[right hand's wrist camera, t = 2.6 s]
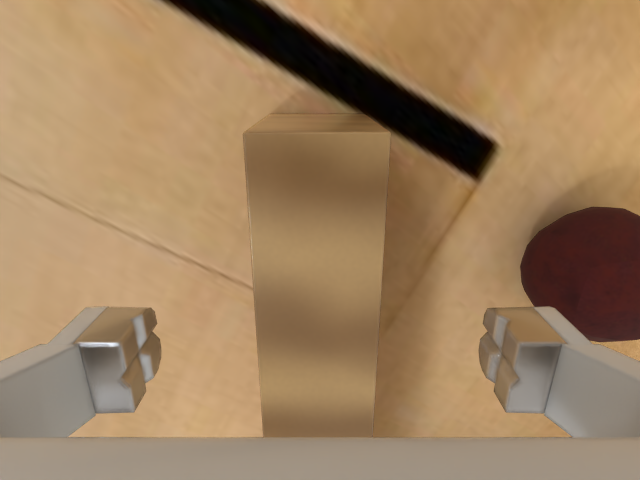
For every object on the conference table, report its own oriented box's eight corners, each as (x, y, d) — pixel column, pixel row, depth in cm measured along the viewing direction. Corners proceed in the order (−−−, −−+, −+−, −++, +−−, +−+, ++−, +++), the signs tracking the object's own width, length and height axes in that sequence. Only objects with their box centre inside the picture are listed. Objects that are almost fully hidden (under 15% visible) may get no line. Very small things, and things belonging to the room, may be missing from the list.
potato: (609, 299, 27) (701, 367, 21) (493, 301, 27) (549, 371, 21) (638, 191, 25) (754, 232, 18) (510, 194, 25) (579, 236, 18)
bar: (269, 113, 23) (242, 132, 15) (364, 113, 23) (391, 132, 15) (284, 456, 33) (272, 583, 24) (351, 455, 33) (363, 583, 24)
